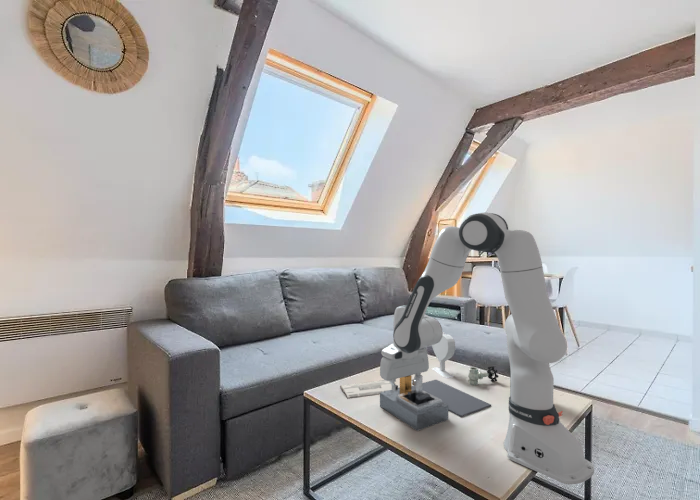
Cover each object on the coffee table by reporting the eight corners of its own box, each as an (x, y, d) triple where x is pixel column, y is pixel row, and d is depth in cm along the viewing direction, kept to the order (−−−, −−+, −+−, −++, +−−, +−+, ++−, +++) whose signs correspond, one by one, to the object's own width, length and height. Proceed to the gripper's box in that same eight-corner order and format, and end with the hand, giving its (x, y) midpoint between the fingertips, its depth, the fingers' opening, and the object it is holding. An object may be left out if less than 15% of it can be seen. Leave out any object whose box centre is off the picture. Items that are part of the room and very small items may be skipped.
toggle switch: (448, 419, 123) (448, 378, 122) (417, 430, 116) (417, 387, 115) (409, 397, 140) (409, 361, 140) (379, 406, 133) (380, 368, 132)
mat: (491, 406, 133) (491, 404, 133) (460, 417, 125) (460, 415, 125) (435, 380, 157) (435, 379, 157) (407, 388, 148) (407, 387, 148)
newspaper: (387, 381, 157) (387, 376, 157) (399, 396, 146) (399, 390, 145) (336, 387, 151) (337, 381, 150) (344, 403, 139) (345, 396, 139)
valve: (473, 387, 150) (498, 384, 154) (474, 371, 150) (498, 368, 153) (464, 381, 157) (488, 378, 160) (464, 366, 156) (488, 363, 160)
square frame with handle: (442, 404, 123) (442, 383, 123) (417, 412, 117) (417, 390, 117) (414, 389, 135) (414, 371, 135) (390, 396, 129) (390, 376, 129)
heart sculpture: (456, 377, 160) (456, 337, 160) (446, 379, 159) (446, 338, 159) (438, 366, 175) (439, 329, 175) (429, 367, 174) (429, 329, 174)
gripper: (421, 343, 139) (420, 379, 139) (377, 351, 128) (377, 390, 128) (433, 347, 133) (432, 384, 134) (388, 356, 123) (388, 396, 123)
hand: (405, 387), depth 131 cm, fingers open, 8 cm apart
